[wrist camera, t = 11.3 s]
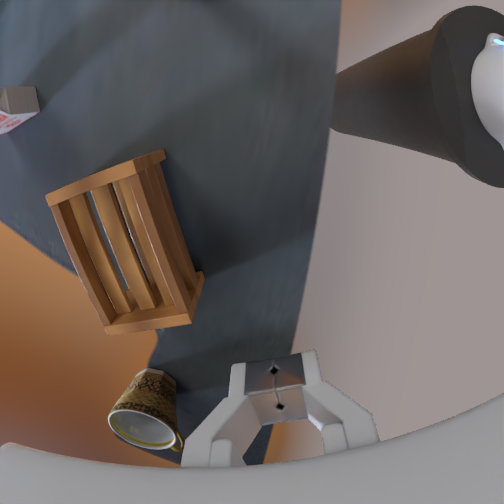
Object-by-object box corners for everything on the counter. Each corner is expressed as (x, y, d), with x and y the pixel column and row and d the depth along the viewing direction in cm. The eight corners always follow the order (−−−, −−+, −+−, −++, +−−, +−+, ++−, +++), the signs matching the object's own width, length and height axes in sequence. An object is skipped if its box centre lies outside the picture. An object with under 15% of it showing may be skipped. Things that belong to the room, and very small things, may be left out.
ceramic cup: (115, 373, 45) (95, 419, 36) (154, 350, 43) (135, 401, 34) (171, 417, 50) (160, 462, 40) (213, 400, 47) (206, 450, 38)
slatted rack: (163, 148, 32) (132, 159, 24) (205, 279, 38) (192, 323, 30) (88, 175, 33) (45, 195, 25) (133, 293, 39) (108, 335, 31)
